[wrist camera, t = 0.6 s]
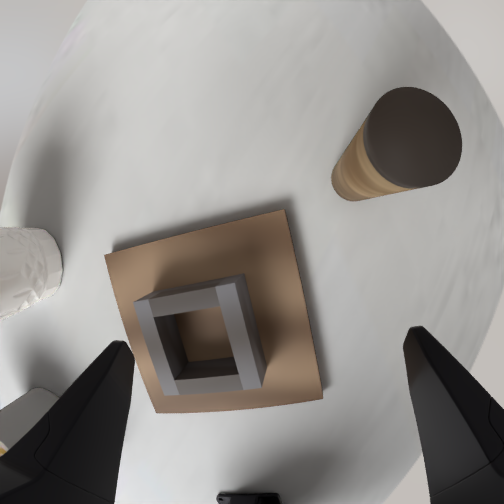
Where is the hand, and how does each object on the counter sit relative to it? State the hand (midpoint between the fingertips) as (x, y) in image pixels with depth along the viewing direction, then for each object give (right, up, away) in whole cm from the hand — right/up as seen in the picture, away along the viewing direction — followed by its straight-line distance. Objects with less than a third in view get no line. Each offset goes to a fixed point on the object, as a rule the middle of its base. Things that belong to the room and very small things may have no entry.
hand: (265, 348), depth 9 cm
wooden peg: (+6, +8, +11) cm, 15 cm away
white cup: (-20, +2, +16) cm, 26 cm away
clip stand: (-3, -3, +14) cm, 15 cm away
